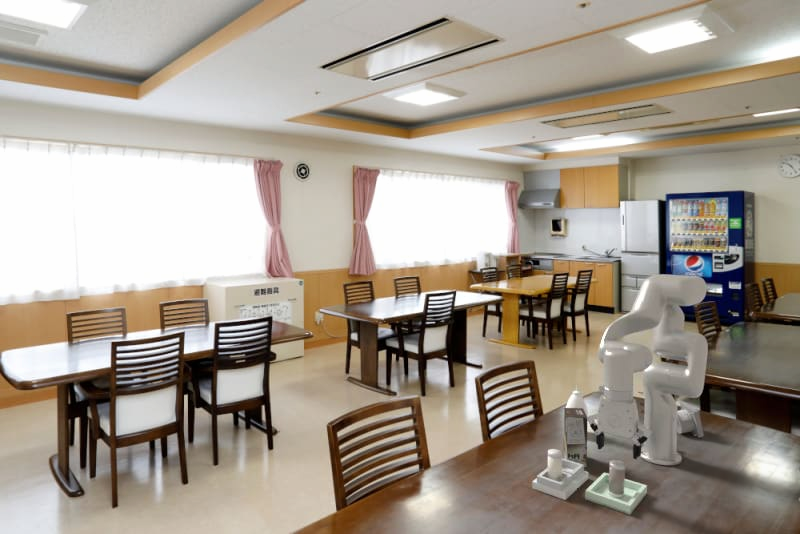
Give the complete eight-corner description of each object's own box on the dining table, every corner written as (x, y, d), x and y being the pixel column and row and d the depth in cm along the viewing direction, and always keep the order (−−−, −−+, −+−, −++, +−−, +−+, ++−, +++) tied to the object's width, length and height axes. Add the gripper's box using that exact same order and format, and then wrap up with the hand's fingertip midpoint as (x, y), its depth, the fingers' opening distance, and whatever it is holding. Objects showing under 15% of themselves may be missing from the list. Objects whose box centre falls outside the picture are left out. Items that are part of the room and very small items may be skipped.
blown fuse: (611, 489, 146) (612, 458, 145) (626, 494, 143) (627, 463, 143) (606, 494, 143) (607, 463, 142) (620, 499, 140) (622, 467, 140)
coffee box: (587, 467, 160) (588, 417, 159) (566, 466, 162) (566, 416, 161) (583, 455, 169) (583, 407, 168) (562, 453, 171) (563, 406, 169)
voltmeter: (711, 434, 184) (712, 407, 183) (695, 442, 178) (695, 414, 177) (642, 412, 206) (642, 389, 206) (625, 419, 200) (625, 394, 199)
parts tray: (604, 480, 152) (604, 472, 152) (646, 493, 144) (646, 485, 144) (585, 499, 142) (585, 490, 142) (629, 515, 134) (630, 505, 134)
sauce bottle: (568, 426, 193) (569, 380, 192) (590, 431, 189) (590, 383, 187) (562, 433, 187) (562, 385, 186) (583, 438, 182) (584, 389, 181)
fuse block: (556, 468, 160) (557, 434, 159) (588, 478, 154) (588, 443, 153) (532, 488, 148) (532, 451, 148) (565, 500, 142) (565, 461, 141)
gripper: (582, 391, 144) (582, 448, 146) (647, 404, 132) (646, 466, 134) (592, 383, 150) (592, 439, 151) (655, 395, 138) (655, 456, 140)
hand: (618, 452), depth 143 cm, fingers open, 9 cm apart
